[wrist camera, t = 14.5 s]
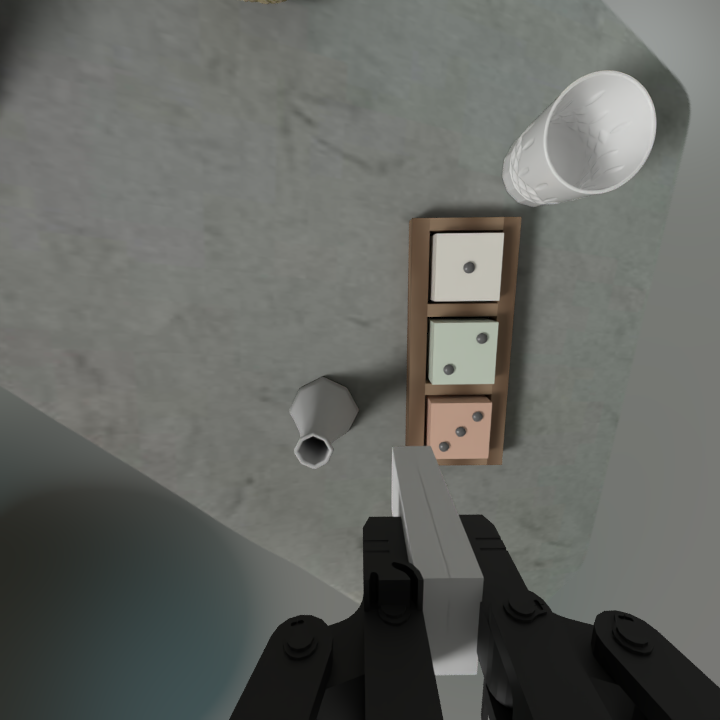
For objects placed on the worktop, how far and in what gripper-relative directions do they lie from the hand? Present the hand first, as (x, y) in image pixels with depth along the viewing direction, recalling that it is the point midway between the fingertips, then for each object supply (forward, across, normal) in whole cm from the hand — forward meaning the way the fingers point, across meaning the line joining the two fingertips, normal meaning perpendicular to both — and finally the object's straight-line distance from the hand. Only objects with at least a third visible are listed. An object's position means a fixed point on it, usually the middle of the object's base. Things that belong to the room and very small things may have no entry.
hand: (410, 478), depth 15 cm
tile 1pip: (+26, +8, +8) cm, 28 cm away
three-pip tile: (+26, +8, -8) cm, 28 cm away
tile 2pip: (+26, +8, 0) cm, 27 cm away
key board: (+26, +8, 0) cm, 28 cm away
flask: (+27, -6, -7) cm, 28 cm away
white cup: (+27, +15, +17) cm, 35 cm away
